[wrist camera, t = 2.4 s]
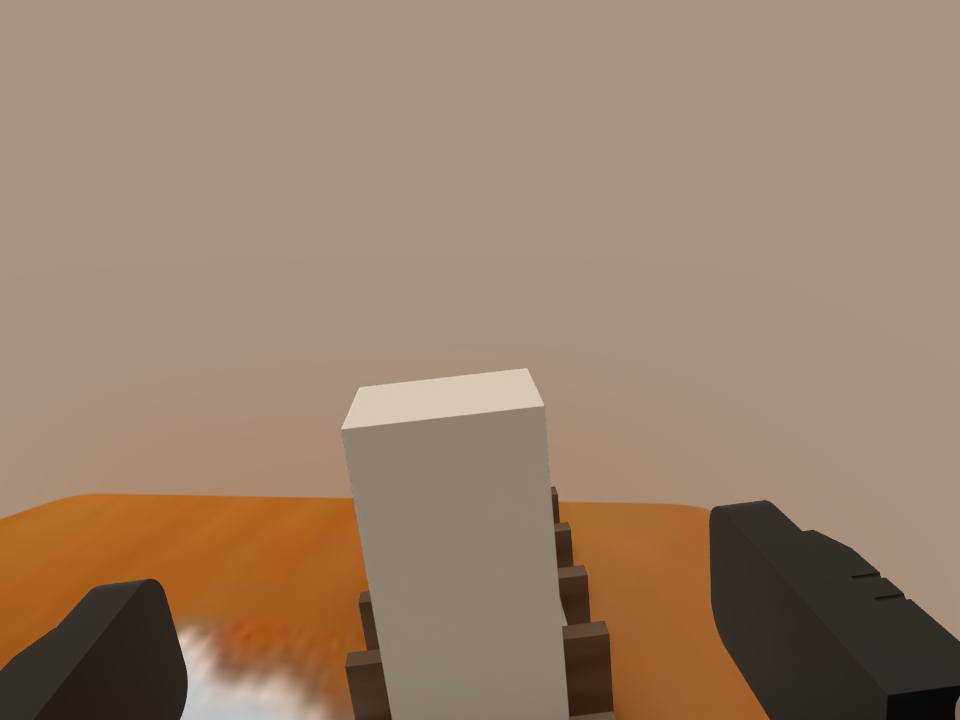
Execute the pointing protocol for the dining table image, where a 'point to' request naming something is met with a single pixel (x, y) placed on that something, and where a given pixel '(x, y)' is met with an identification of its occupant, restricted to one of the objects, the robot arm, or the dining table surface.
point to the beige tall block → (460, 546)
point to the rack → (580, 642)
